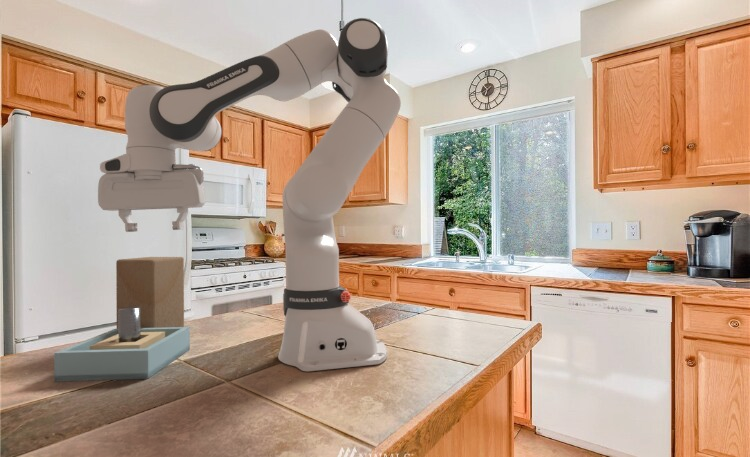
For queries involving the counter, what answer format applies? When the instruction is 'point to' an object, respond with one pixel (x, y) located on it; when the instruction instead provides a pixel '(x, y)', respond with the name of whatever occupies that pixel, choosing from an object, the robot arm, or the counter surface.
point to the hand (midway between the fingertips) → (154, 230)
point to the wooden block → (152, 289)
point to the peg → (129, 324)
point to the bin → (121, 355)
